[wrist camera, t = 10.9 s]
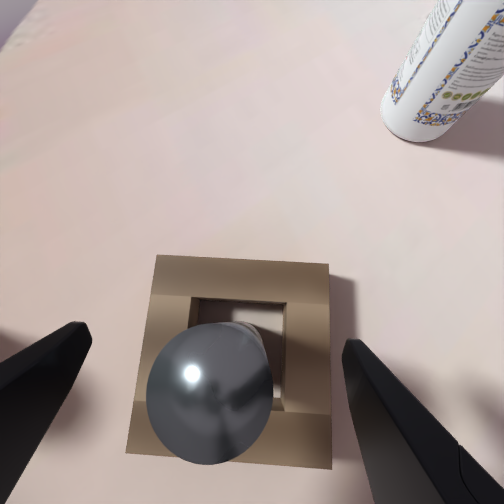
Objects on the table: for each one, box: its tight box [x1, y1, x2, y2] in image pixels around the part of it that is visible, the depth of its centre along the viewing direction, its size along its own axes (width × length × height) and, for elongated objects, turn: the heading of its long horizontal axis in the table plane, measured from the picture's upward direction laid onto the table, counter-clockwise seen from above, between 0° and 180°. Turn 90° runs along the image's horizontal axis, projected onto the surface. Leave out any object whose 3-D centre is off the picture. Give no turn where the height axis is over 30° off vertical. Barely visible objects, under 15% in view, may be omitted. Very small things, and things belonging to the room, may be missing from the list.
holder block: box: [125, 255, 332, 470], centre depth 19 cm, size 13×13×3 cm
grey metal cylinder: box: [146, 321, 273, 465], centre depth 14 cm, size 4×4×13 cm
